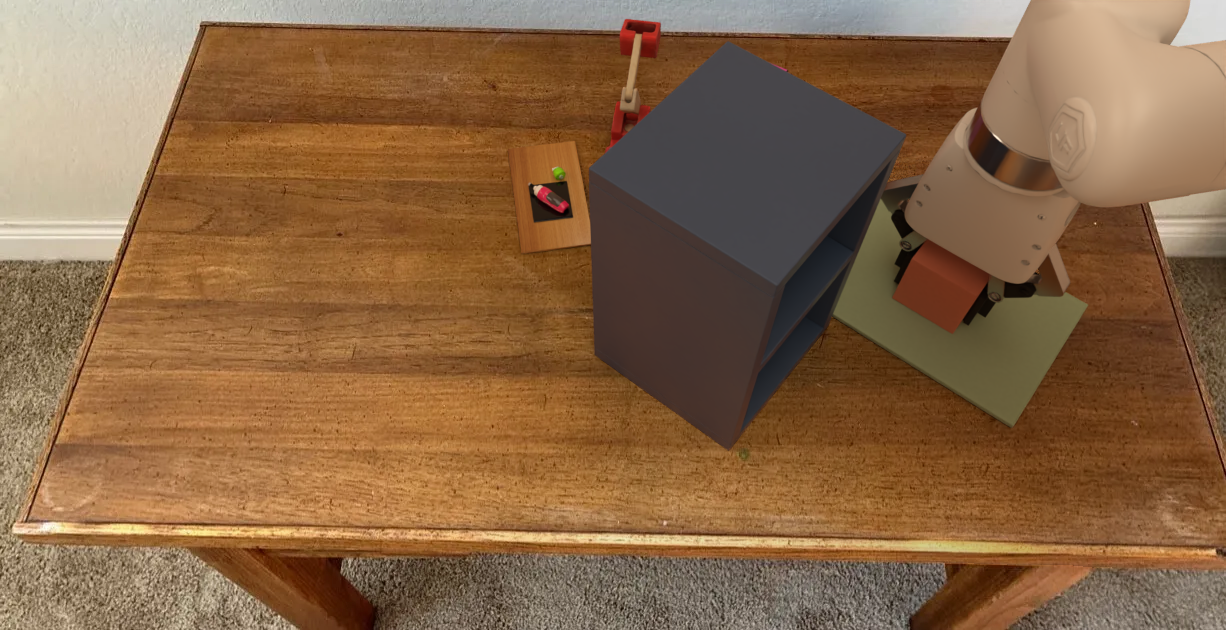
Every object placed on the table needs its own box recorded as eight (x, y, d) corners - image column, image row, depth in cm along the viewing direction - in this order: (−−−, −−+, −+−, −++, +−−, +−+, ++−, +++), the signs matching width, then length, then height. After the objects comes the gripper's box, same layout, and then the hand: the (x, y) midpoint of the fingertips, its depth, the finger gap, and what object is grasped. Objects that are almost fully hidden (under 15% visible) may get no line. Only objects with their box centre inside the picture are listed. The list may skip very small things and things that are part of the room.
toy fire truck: (599, 202, 77) (598, 124, 68) (623, 94, 84) (624, 11, 76) (637, 207, 76) (640, 129, 68) (657, 98, 84) (662, 15, 75)
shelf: (828, 326, 70) (907, 134, 51) (728, 451, 64) (777, 285, 45) (698, 244, 74) (727, 40, 56) (594, 354, 68) (588, 167, 50)
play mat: (1086, 307, 71) (1088, 304, 71) (1011, 428, 65) (1013, 426, 65) (873, 188, 78) (874, 185, 77) (788, 289, 72) (788, 286, 71)
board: (575, 142, 80) (574, 131, 79) (594, 244, 74) (593, 234, 73) (508, 150, 80) (506, 139, 79) (521, 254, 74) (519, 243, 72)
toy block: (983, 290, 71) (1009, 250, 67) (952, 334, 69) (977, 296, 64) (923, 256, 73) (945, 215, 68) (891, 298, 71) (911, 258, 66)
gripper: (1184, 167, 54) (1056, 318, 70) (937, 48, 60) (870, 212, 75) (1138, 241, 51) (1015, 382, 66) (883, 108, 57) (825, 266, 72)
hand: (939, 290), depth 71 cm, fingers closed on toy block, 5 cm apart
